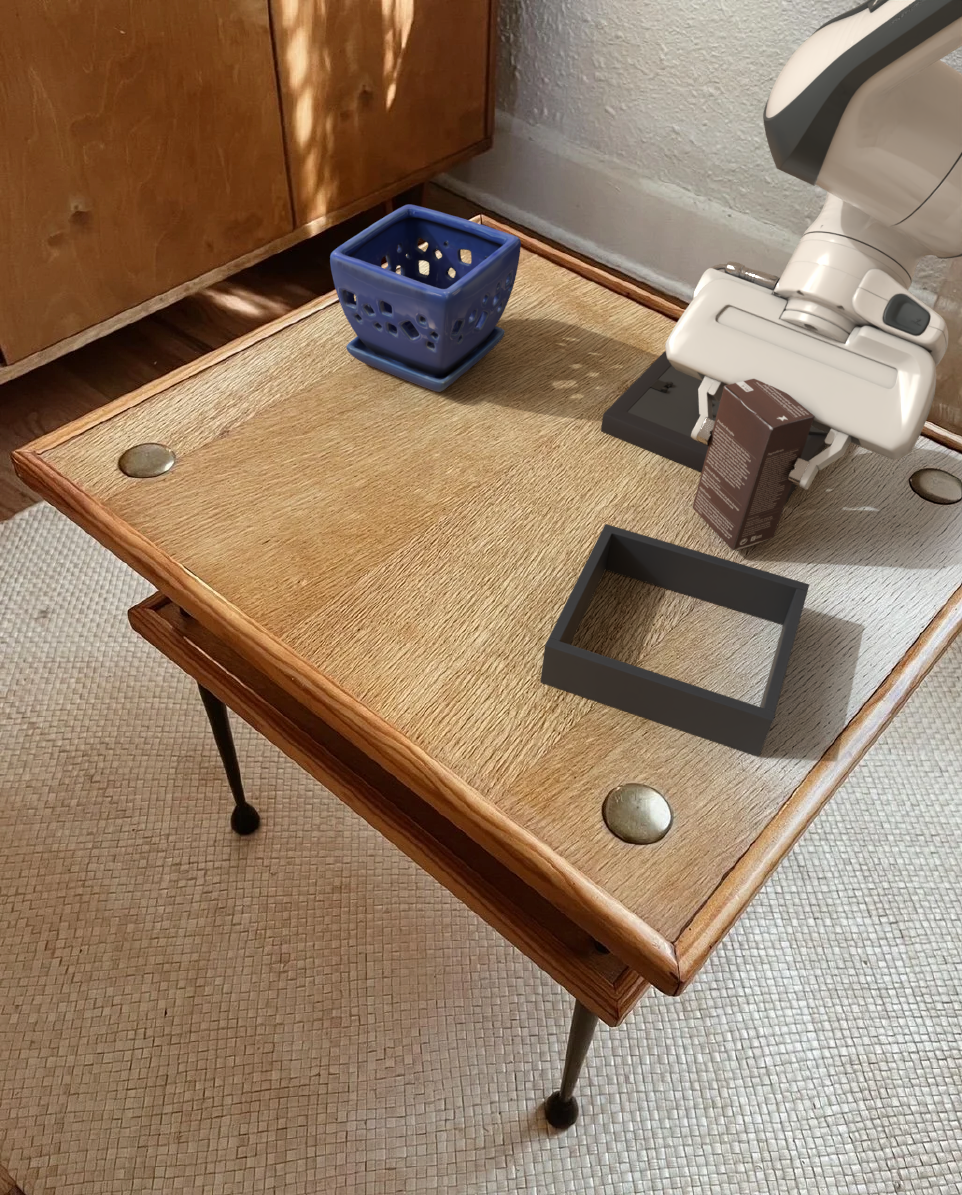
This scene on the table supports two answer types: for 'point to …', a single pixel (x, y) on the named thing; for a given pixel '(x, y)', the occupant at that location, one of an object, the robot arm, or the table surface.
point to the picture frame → (673, 417)
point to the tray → (658, 692)
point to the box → (750, 462)
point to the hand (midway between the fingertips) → (748, 463)
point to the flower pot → (425, 294)
